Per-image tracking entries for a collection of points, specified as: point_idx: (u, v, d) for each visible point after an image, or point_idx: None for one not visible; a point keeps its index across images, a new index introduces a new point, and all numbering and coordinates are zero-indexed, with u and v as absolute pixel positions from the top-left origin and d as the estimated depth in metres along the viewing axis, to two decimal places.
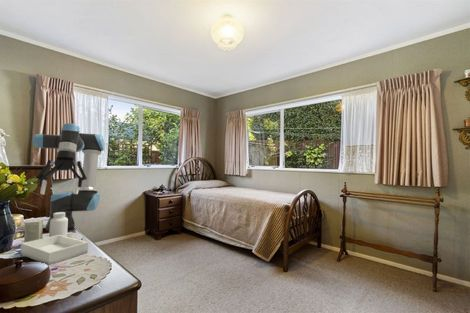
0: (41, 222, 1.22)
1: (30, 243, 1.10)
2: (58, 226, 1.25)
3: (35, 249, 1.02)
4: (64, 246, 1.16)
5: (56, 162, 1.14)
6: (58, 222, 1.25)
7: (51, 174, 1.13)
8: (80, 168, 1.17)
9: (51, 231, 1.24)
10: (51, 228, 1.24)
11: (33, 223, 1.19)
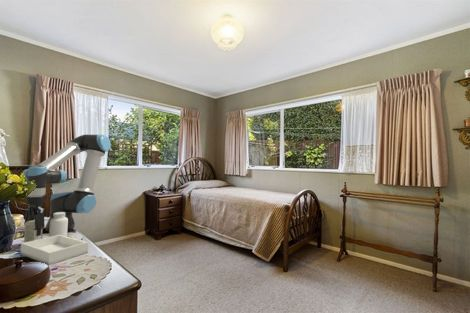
0: None
1: (30, 243, 1.10)
2: (58, 226, 1.25)
3: (35, 249, 1.02)
4: (64, 246, 1.16)
5: (29, 207, 1.21)
6: (58, 222, 1.25)
7: (32, 219, 1.22)
8: (38, 217, 1.17)
9: (51, 231, 1.24)
10: (51, 228, 1.24)
11: (33, 223, 1.19)
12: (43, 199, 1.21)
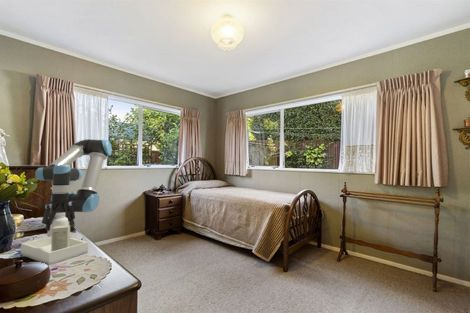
0: (69, 228, 1.09)
1: (30, 243, 1.10)
2: None
3: (35, 249, 1.02)
4: None
5: None
6: (58, 222, 1.25)
7: (66, 214, 1.31)
8: None
9: None
10: None
11: (61, 229, 1.06)
12: (56, 196, 1.25)
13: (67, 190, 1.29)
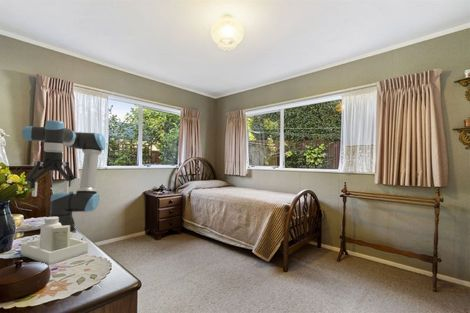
0: (69, 228, 1.09)
1: (30, 243, 1.10)
2: (50, 233, 1.09)
3: (35, 249, 1.02)
4: None
5: None
6: (50, 228, 1.09)
7: (63, 174, 1.19)
8: None
9: (42, 239, 1.09)
10: (42, 235, 1.09)
11: (61, 229, 1.06)
12: (48, 155, 1.12)
13: (60, 149, 1.16)
